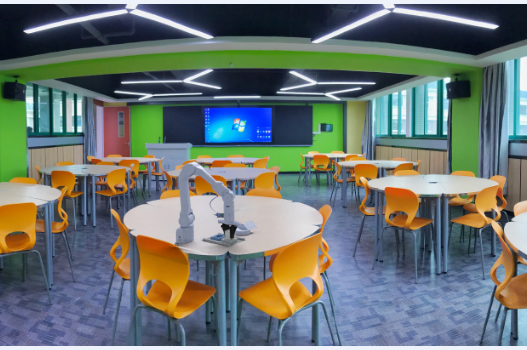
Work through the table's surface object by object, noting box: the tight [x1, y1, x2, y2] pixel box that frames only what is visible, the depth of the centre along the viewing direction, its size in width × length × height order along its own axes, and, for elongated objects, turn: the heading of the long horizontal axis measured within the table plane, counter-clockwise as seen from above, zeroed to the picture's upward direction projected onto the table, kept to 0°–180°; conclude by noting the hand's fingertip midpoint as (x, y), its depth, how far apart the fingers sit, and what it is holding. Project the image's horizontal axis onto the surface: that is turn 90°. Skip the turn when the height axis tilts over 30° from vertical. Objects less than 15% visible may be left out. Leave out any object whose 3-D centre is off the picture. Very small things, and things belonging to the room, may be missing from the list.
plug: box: [225, 230, 234, 240], centre depth 187 cm, size 3×3×6 cm
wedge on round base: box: [234, 220, 258, 236], centre depth 205 cm, size 9×7×13 cm
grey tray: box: [202, 232, 246, 248], centre depth 190 cm, size 14×20×3 cm
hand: (229, 237), depth 187 cm, fingers closed on plug, 3 cm apart
